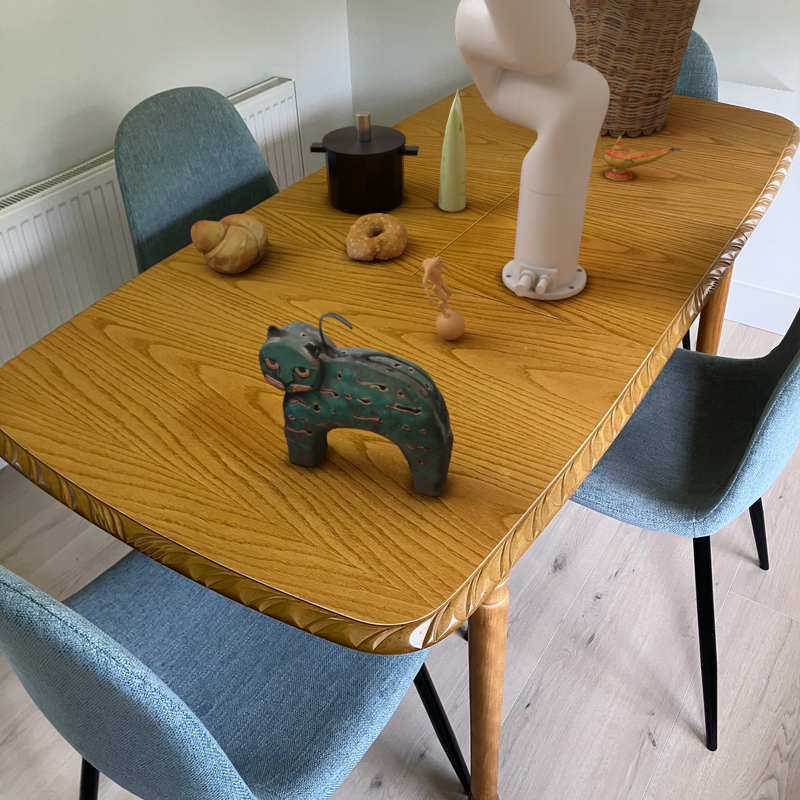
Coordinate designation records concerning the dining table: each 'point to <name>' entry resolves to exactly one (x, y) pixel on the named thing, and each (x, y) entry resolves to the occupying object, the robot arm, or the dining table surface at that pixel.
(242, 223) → the bread roll
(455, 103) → the tube
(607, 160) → the magic lamp
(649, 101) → the wicker basket
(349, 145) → the pot lid
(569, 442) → the dining table surface
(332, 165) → the pot
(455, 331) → the figurine
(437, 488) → the ceramic cat
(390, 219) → the bagel
